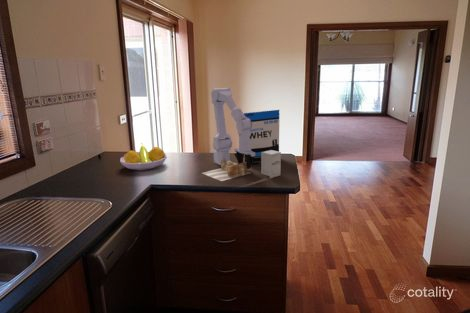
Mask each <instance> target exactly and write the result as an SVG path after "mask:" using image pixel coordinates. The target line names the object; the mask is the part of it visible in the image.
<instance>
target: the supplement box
mask: <svg viewBox="0 0 470 313" xmlns="http://www.w3.org/2000/svg"><path fill="white" fill-rule="evenodd" d="M281 160H282V152H281V151H279V152H278V151H273V150H269V151H265V152H261V164H260V165H261V166H260V168H261V170H260V171H261V172H260V174H262V175H263V176H267V178H268V179H273V178H275V177H276V178H277V177H279V176H281V172H282V171H281V165H282V164H281V163H282V162H281Z"/></svg>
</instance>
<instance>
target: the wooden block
mask: <svg viewBox="0 0 470 313" xmlns="http://www.w3.org/2000/svg"><path fill="white" fill-rule="evenodd" d="M239 165H244V172H247V171H248V172H251V168H250V169H247V165H246V162H245V161H243V163H239V164H235V165H231V166H227V167H228V176H233V175H236V174H238V169H239Z"/></svg>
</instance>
